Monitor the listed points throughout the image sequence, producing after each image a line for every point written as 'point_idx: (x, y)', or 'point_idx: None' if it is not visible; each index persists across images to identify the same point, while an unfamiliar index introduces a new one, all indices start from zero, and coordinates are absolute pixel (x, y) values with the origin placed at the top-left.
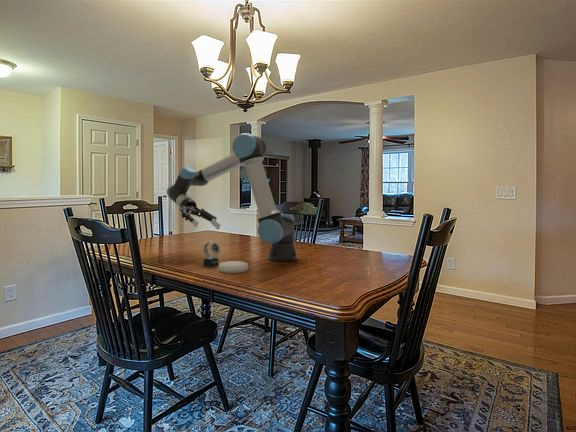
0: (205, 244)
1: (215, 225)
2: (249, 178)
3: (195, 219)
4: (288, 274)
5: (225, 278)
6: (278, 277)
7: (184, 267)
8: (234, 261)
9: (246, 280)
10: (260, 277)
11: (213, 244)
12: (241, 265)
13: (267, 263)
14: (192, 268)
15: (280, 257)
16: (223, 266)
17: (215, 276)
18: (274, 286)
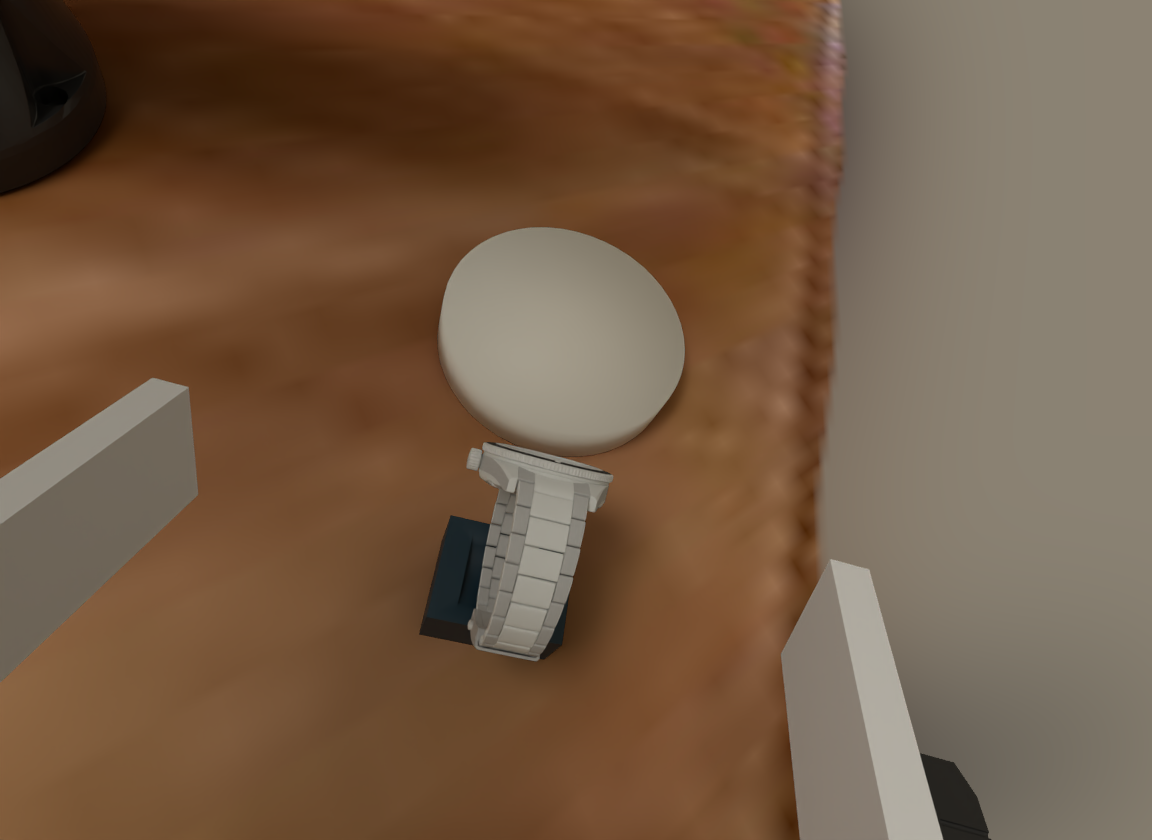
0: (562, 602)
1: (114, 535)
2: None
3: (887, 662)
4: (513, 45)
5: (776, 318)
6: (602, 83)
7: (694, 806)
8: (466, 348)
9: (743, 208)
10: (650, 158)
11: (573, 464)
12: (577, 259)
13: (223, 177)
14: (685, 695)
15: (95, 67)
16: (673, 363)
17: (776, 389)
18: (755, 88)
